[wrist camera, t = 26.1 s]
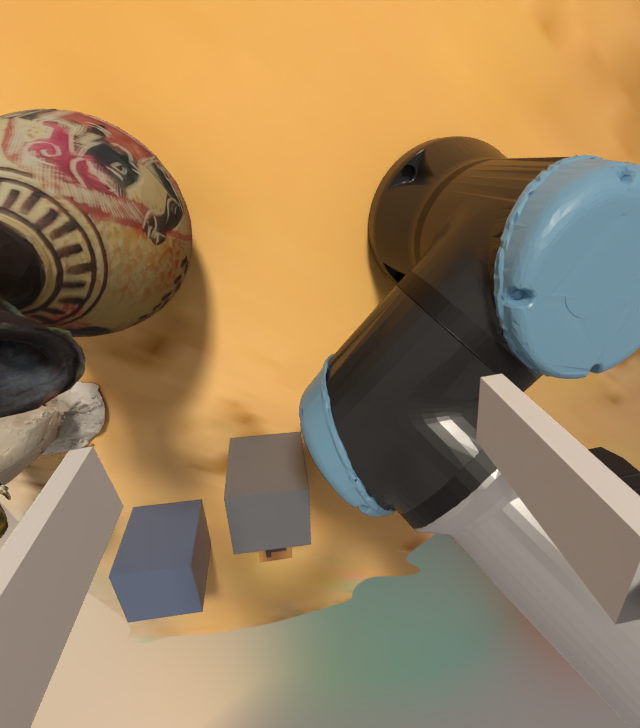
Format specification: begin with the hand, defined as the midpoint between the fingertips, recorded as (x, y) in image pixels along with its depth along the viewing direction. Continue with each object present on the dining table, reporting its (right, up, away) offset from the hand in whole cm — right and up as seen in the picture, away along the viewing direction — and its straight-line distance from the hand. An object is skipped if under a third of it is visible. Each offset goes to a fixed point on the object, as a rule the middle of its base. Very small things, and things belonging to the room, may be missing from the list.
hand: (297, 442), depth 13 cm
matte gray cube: (-6, -10, +39) cm, 41 cm away
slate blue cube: (-20, -20, +42) cm, 51 cm away
